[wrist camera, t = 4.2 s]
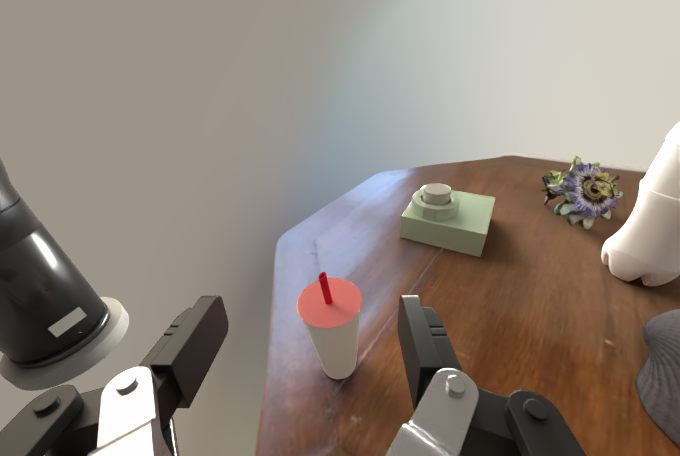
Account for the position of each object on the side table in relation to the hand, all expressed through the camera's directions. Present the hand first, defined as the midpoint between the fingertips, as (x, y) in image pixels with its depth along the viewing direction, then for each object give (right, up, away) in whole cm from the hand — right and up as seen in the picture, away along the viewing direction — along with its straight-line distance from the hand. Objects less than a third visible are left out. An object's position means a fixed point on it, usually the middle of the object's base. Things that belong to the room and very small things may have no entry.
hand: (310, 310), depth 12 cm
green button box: (+19, +4, +34) cm, 39 cm away
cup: (+1, -10, +15) cm, 18 cm away
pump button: (+16, +8, +30) cm, 35 cm away
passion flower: (+40, +6, +35) cm, 53 cm away
